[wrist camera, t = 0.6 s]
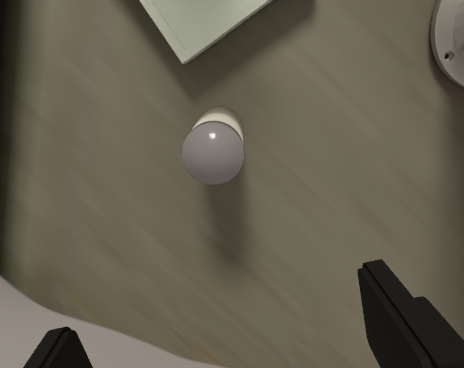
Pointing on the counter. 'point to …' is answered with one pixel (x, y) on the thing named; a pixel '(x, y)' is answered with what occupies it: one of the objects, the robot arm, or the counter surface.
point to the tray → (198, 21)
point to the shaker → (214, 147)
